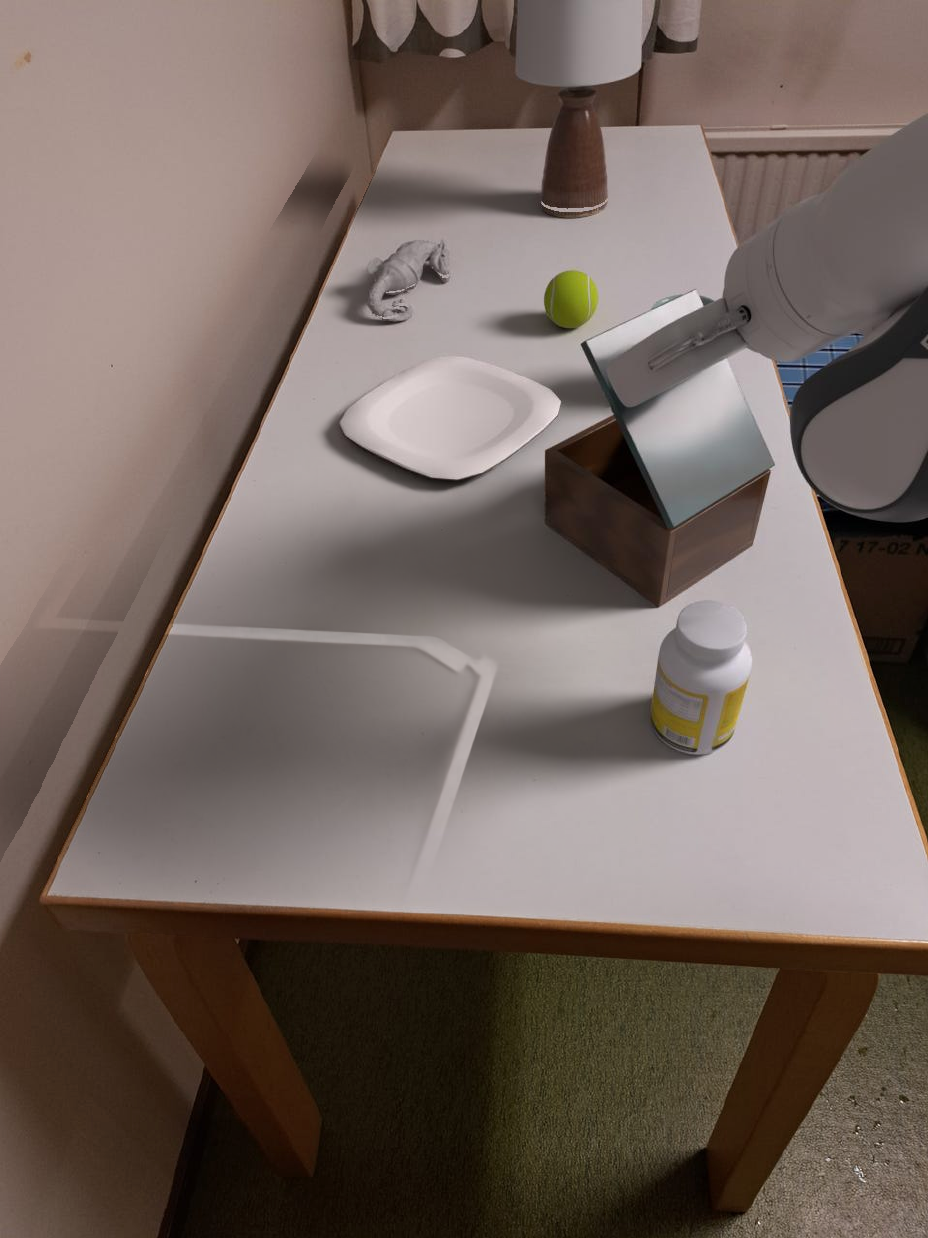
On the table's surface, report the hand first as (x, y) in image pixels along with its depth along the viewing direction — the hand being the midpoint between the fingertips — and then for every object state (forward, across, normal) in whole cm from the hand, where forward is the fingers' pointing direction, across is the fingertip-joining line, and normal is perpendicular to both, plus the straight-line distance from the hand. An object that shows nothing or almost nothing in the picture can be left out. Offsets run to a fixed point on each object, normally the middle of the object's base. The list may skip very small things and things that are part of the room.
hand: (666, 365), depth 68 cm
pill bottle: (0, -14, -26) cm, 29 cm away
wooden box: (+13, 0, -13) cm, 18 cm away
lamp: (+60, +51, +34) cm, 86 cm away
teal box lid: (+1, 0, -4) cm, 4 cm away
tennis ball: (+39, +23, +12) cm, 47 cm away
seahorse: (+56, +13, +29) cm, 64 cm away
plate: (+33, -2, +7) cm, 34 cm away
